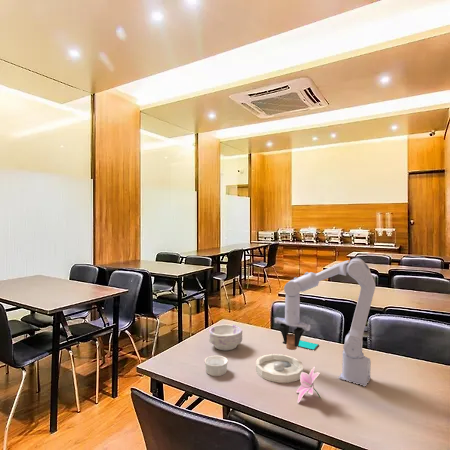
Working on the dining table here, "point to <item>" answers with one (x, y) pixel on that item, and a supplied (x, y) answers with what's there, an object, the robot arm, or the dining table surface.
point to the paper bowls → (225, 336)
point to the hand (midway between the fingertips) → (291, 344)
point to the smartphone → (307, 345)
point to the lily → (307, 383)
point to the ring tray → (275, 375)
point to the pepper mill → (291, 342)
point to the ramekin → (216, 365)
